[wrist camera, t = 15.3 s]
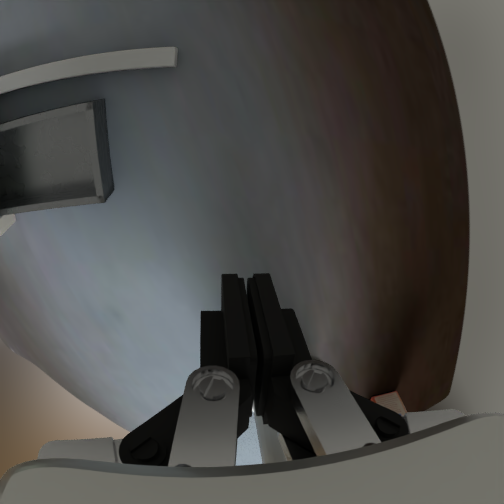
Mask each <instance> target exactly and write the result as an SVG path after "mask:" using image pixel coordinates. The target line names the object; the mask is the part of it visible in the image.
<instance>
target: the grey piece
mask: <svg viewBox="0 0 504 504" xmlns="http://www.w3.org/2000/svg"><path fill="white" fill-rule="evenodd" d="M177 56H178V49H177V48H176V47H158V48H144V49H132V50H123V51H114V52H107V53H99V54H93V55H87V56H81V57H76V58H70V59H65V60H61V61H56V62H51V63H47V64H43V65H39V66H35V67H31V68H28V69H24V70H20V71H17V72H14V73H10V74H7V75H4V76H1V77H0V94H3V93H7V92H10V91H14V90H18V89H22V88H26V87H30V86H34V85H38V84H42V83H47V82H52V81H56V80H62V79H67V78H72V77H78V76H84V75H91V74H98V73H106V72H114V71H123V70H134V69H147V68H165V67H177ZM15 221H16V218H15V214H9V215H3V216H0V237H1V236H2V234H3V233H4V232H5V231H6V230H7V229H8V228H9V227H10V226H11V225H12V224H13V223H14V222H15Z"/></svg>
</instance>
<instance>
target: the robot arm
mask: <svg viewBox="0 0 504 504" xmlns="http://www.w3.org/2000/svg"><path fill="white" fill-rule="evenodd" d="M252 411H253V412H254V417H255V423H256V429H257V434H258V440H259V446H260V452H261V457H262V463H263V464H255V465H242V466H236V452H237V438H238V437H239V436H240V435H241V434H242V433H244V432H245V431H246V430H247V429H248V426H249V417H252ZM0 504H504V414H502V413H478V414H471V415H467V416H465V415H464V414H463V413H462V412H460V411H458V410H454V409H447V410H437V411H425V412H410V413H405V415H404V416H401V415H400V414H398V413H396V412H395V411H392V410H390V409H388V408H386V407H384V406H381V405H379V404H377V403H375V402H373V401H371V400H368V399H366V398H364V397H362V396H360V395H358V394H356V393H354V392H352V391H350V390H349V389H348V388H347V386H346V385H345V383H344V381H343V380H342V378H341V377H340V375H339V373H338V372H337V371H336V370H335V368H334V367H332V366H331V365H329V364H328V363H326V362H323V361H320V360H312V359H311V356H310V353H309V350H308V348H307V345H306V342H305V339H304V337H303V334H302V331H301V328H300V326H299V323H298V320H297V317H296V315H295V312H294V310H293V309H281V308H280V305H279V302H278V298H277V295H276V292H275V289H274V286H273V283H272V280H271V276H270V274H269V273H266V274H253V278H248V280H247V295H246V289H245V284H244V279H243V278H238V275H237V274H222V287H221V311H201V335H200V368H199V369H197V370H195V371H193V372H192V373H191V374H190V375H189V377H188V379H187V382H186V386H185V390H184V394H183V395H182V396H181V397H179V398H178V399H177V400H175V401H174V402H172V403H171V404H170V405H168V406H167V407H166V408H164V409H163V410H161V411H160V412H159V413H157V414H156V415H154V416H153V417H152V418H150V419H149V420H147V421H146V422H145V423H143V424H142V425H140V426H139V427H137V428H136V429H135V430H133V431H132V432H130V433H129V434H128V435H127V436H125V437H124V438H123V439H118V440H113V438H112V437H109V438H95V439H81V440H55V441H50V442H48V443H46V444H45V445H43V446H42V448H41V449H40V451H39V454H38V459H37V460H32V461H28V462H24V463H21V464H18V465H16V466H14V467H12V468H10V469H9V470H7V472H6V473H5V474H4V475H3V477H2V478H1V479H0Z"/></svg>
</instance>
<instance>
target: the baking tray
mask: <svg viewBox="0 0 504 504" xmlns="http://www.w3.org/2000/svg"><path fill="white" fill-rule="evenodd" d="M113 191H114V183H113V176H112V168H111V160H110V152H109V143H108V132H107V121H106V108H105V99H100V100H95V101H89V102H84V103H79V104H74V105H69V106H65V107H60V108H56V109H52V110H48V111H44V112H40V113H36V114H32V115H29V116H25V117H22V118H18V119H15V120H12V121H8V122H5V123H2V124H0V216H3V215H9V214H16V213H23V212H30V211H37V210H45V209H52V208H60V207H69V206H77V205H86V204H96V203H105V202H106V200H107V199H108V198H109V196H110V195H111V194H112V192H113Z"/></svg>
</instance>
